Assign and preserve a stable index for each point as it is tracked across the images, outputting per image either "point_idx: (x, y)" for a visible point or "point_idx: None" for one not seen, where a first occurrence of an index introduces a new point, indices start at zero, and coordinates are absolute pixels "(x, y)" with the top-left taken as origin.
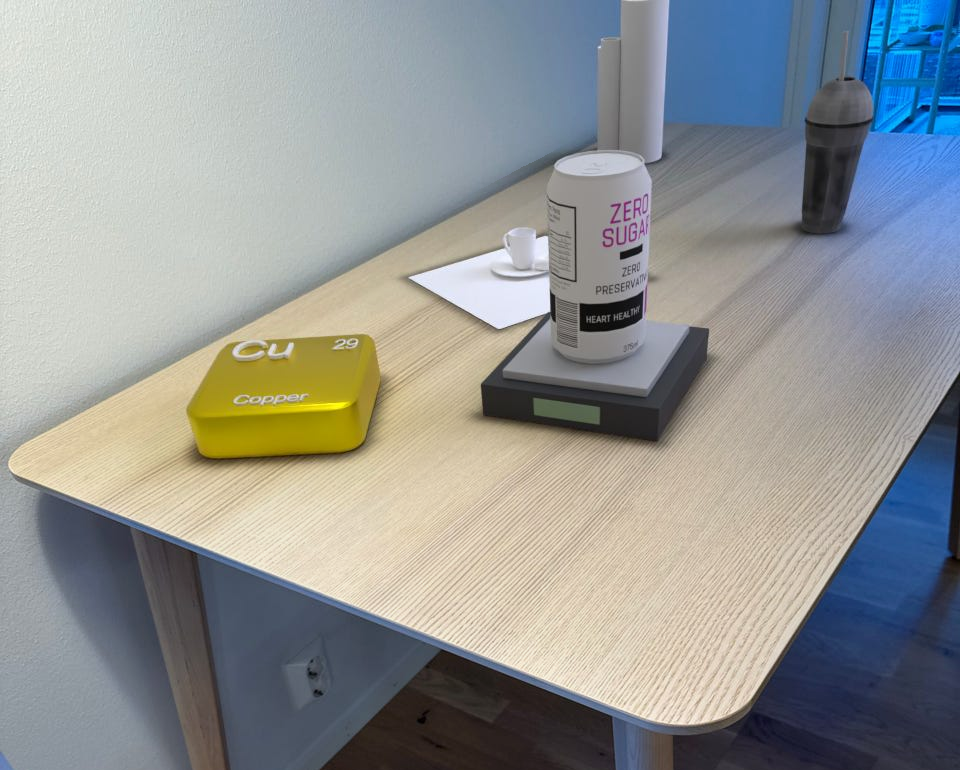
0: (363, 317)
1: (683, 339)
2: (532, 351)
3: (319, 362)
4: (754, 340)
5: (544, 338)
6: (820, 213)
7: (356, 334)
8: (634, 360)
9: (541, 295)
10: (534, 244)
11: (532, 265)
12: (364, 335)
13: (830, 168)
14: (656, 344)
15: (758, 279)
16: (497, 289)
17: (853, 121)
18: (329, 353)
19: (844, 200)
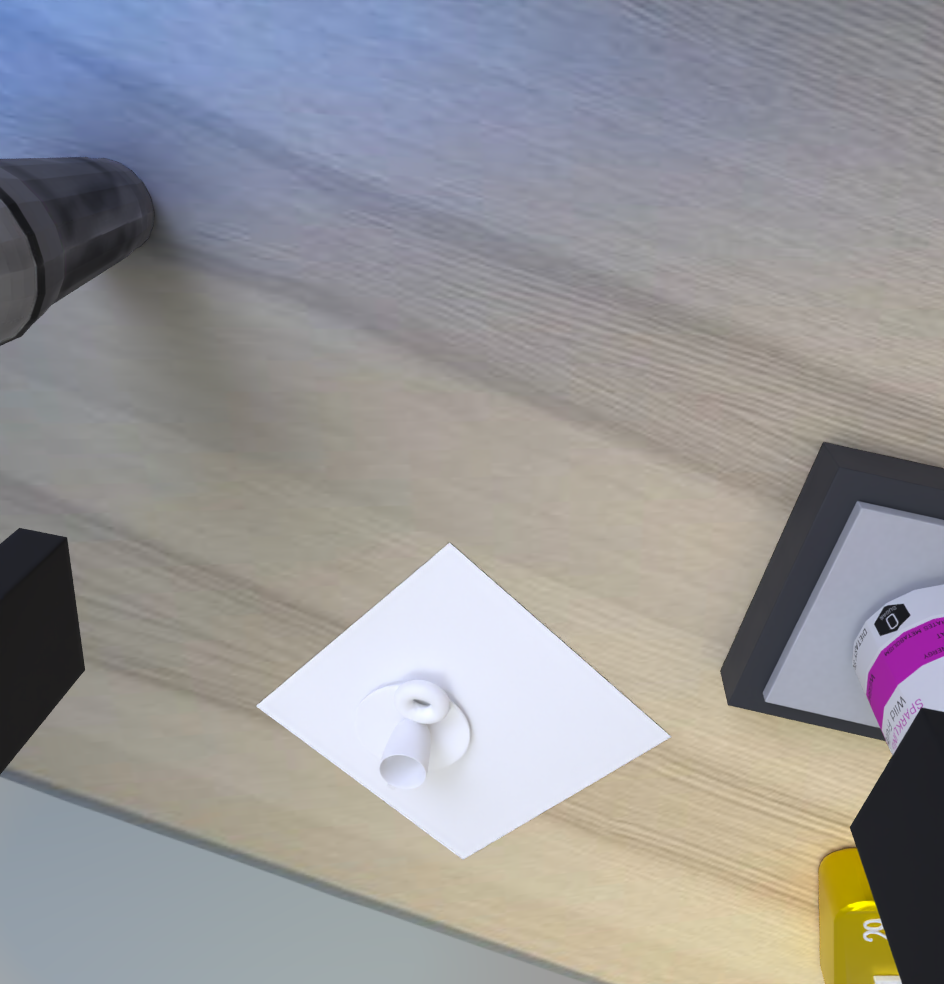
0: (614, 888)
1: (896, 510)
2: None
3: None
4: (747, 359)
5: None
6: (135, 225)
7: (843, 923)
8: None
9: (532, 693)
10: (410, 741)
11: (402, 715)
12: (849, 915)
13: (86, 239)
14: (941, 557)
15: (440, 348)
16: (508, 751)
17: (10, 220)
18: None
19: (96, 172)
